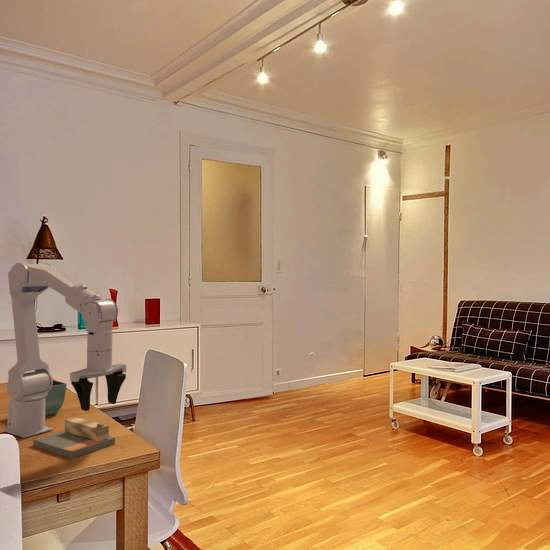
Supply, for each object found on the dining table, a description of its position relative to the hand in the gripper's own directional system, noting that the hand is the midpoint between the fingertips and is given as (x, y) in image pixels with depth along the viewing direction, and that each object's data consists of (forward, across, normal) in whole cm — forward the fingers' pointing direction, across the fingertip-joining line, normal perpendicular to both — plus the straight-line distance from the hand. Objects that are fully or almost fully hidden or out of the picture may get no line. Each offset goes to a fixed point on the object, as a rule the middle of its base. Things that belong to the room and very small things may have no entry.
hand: (98, 406), depth 121 cm
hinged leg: (+8, +1, +6) cm, 10 cm away
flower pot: (+10, +9, +36) cm, 39 cm away
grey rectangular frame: (+10, -2, +6) cm, 12 cm away
